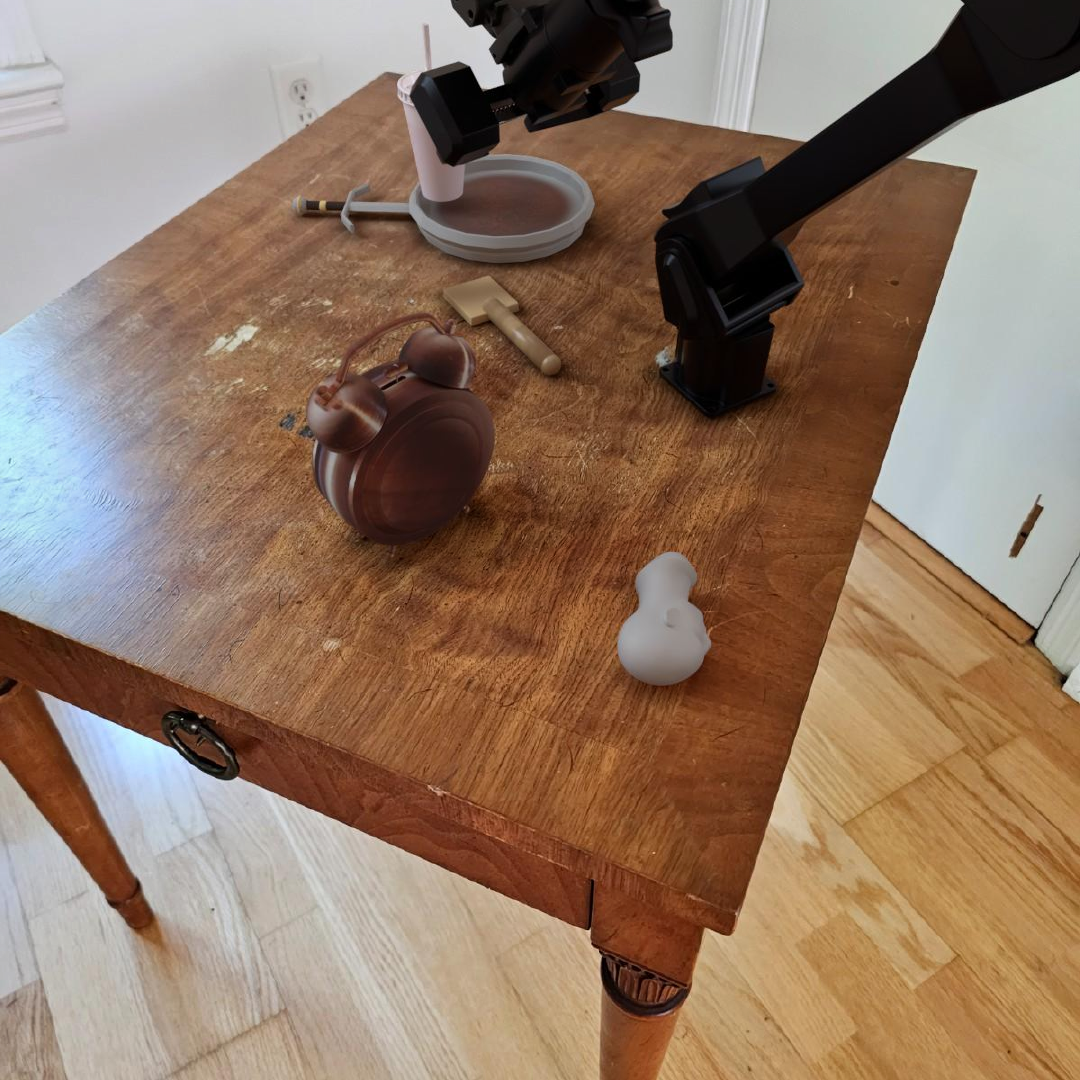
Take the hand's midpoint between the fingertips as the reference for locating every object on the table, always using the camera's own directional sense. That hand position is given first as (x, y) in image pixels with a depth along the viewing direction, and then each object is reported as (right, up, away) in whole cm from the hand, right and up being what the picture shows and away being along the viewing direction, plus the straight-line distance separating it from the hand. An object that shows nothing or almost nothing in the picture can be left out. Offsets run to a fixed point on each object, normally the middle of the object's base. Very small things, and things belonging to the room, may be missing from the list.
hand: (485, 142), depth 79 cm
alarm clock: (-4, -32, -18) cm, 37 cm away
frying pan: (-4, -3, +10) cm, 12 cm away
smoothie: (-4, -1, +8) cm, 9 cm away
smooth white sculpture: (+12, -39, -24) cm, 47 cm away
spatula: (+2, -16, -3) cm, 16 cm away
